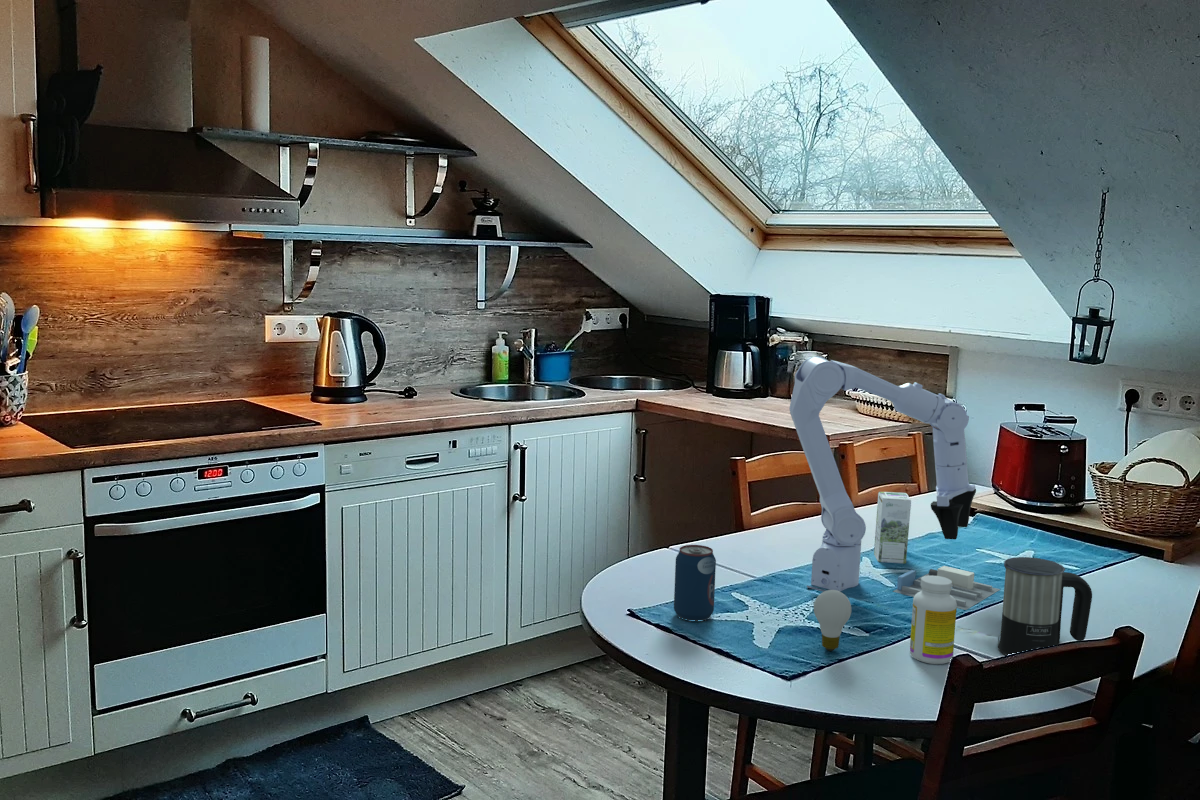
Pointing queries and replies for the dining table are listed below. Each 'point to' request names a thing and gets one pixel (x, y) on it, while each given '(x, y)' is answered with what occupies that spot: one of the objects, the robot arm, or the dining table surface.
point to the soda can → (694, 582)
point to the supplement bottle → (933, 621)
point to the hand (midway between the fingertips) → (956, 532)
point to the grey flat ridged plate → (962, 595)
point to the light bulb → (832, 616)
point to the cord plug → (955, 576)
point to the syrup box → (892, 527)
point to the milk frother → (1039, 604)
